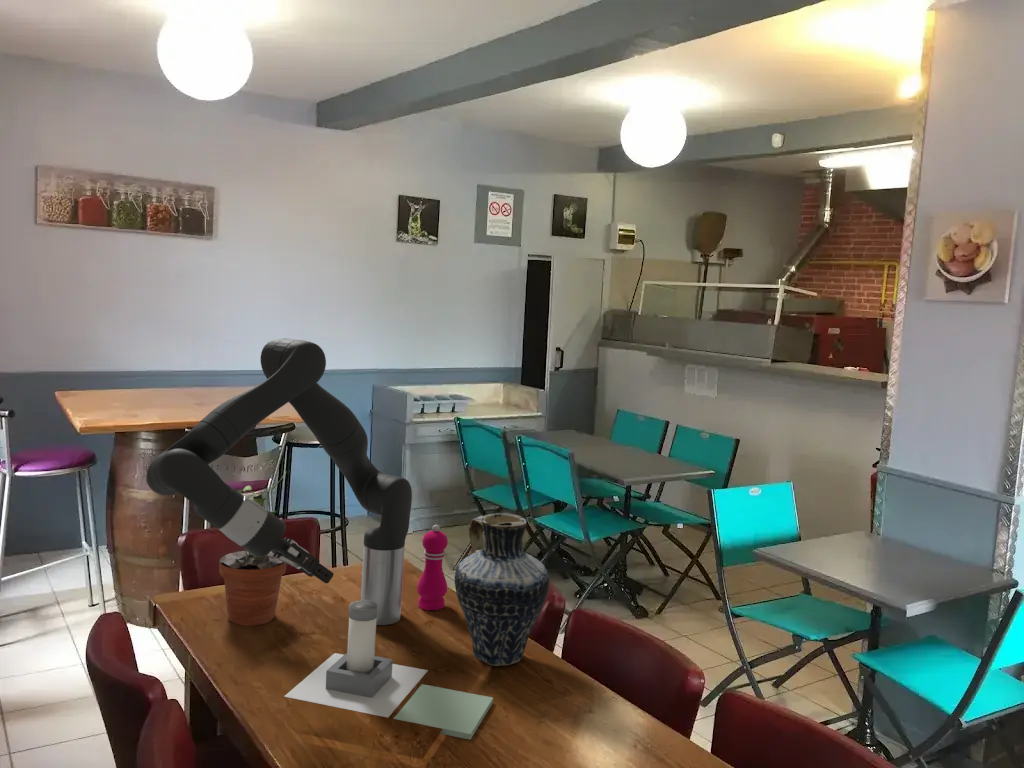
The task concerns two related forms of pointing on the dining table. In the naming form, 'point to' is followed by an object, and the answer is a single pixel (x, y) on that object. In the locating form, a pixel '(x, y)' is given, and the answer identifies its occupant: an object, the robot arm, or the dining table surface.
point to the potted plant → (251, 582)
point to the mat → (446, 710)
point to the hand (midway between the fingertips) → (322, 575)
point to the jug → (500, 588)
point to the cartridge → (361, 636)
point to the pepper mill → (433, 571)
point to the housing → (358, 686)
